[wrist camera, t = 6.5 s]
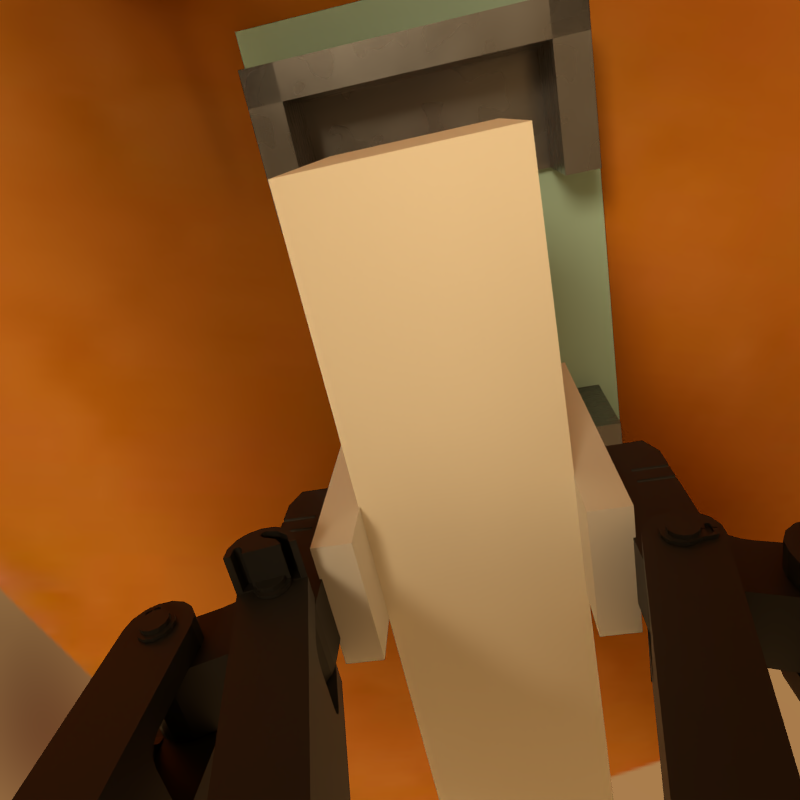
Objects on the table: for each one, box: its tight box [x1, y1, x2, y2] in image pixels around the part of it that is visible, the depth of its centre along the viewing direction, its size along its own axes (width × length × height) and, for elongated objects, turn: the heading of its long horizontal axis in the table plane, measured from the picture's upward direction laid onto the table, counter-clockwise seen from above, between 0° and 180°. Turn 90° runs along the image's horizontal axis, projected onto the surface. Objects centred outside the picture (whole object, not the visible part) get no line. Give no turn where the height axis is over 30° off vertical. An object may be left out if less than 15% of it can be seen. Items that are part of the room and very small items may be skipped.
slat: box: [268, 118, 613, 800], centre depth 15 cm, size 15×4×6 cm, turn 12°
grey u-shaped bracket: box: [238, 0, 601, 233], centre depth 23 cm, size 5×11×4 cm, turn 102°
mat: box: [235, 0, 620, 421], centre depth 28 cm, size 24×13×1 cm, turn 12°
